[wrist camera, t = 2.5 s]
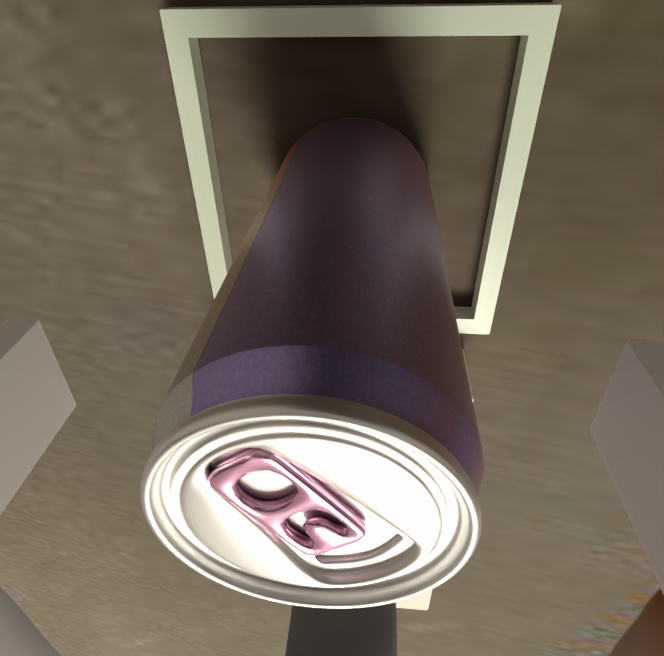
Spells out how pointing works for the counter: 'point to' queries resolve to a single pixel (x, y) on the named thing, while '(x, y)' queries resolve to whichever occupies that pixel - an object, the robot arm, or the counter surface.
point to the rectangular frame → (367, 22)
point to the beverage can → (326, 393)
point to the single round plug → (343, 631)
